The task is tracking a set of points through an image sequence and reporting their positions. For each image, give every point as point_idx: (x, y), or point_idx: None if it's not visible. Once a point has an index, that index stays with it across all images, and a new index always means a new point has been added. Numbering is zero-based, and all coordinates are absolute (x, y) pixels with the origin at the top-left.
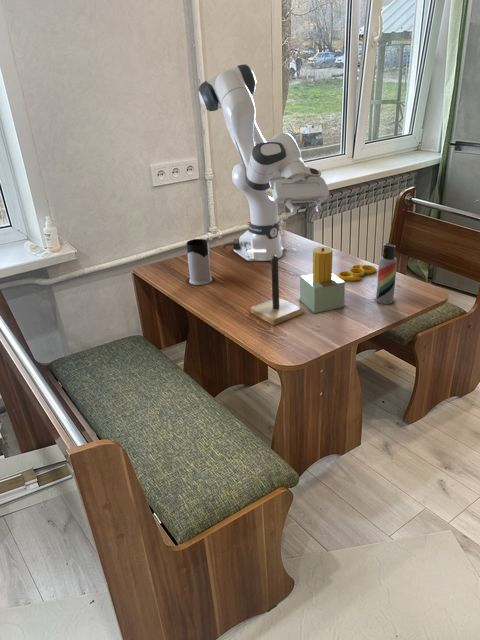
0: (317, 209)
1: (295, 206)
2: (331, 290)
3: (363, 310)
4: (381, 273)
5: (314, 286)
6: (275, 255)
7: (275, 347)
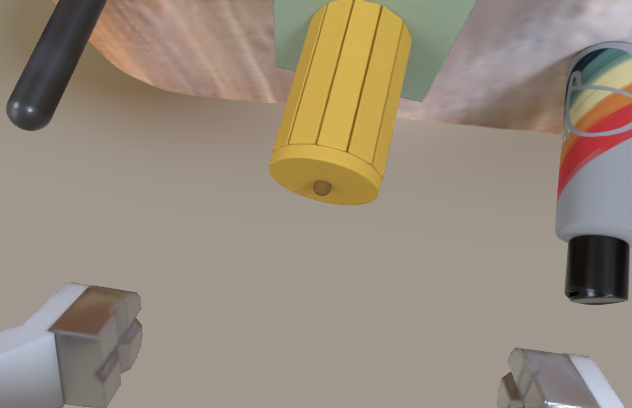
0: (506, 394)
1: (99, 405)
2: None
3: (472, 56)
4: (559, 177)
5: (282, 58)
6: (27, 127)
7: (121, 32)
